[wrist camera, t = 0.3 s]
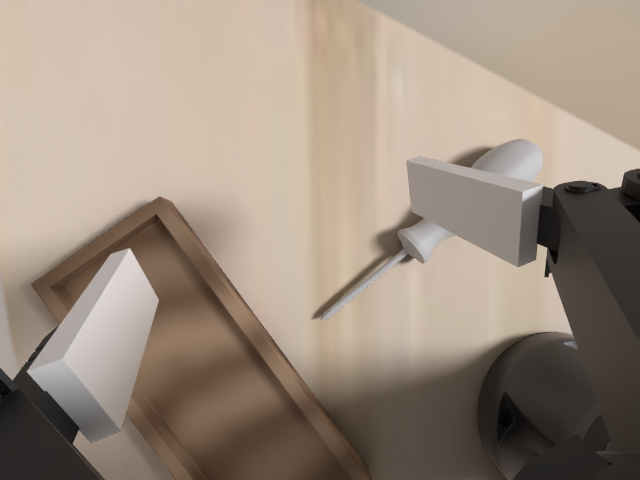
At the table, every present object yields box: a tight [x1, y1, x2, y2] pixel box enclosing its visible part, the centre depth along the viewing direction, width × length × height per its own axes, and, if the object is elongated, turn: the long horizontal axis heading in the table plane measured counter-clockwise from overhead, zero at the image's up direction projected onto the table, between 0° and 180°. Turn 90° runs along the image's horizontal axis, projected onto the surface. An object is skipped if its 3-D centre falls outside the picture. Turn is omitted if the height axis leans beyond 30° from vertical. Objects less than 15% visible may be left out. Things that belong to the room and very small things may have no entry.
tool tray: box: [31, 197, 372, 480], centre depth 27 cm, size 30×12×2 cm, turn 36°
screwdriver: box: [321, 139, 544, 320], centre depth 29 cm, size 5×25×4 cm, turn 128°
